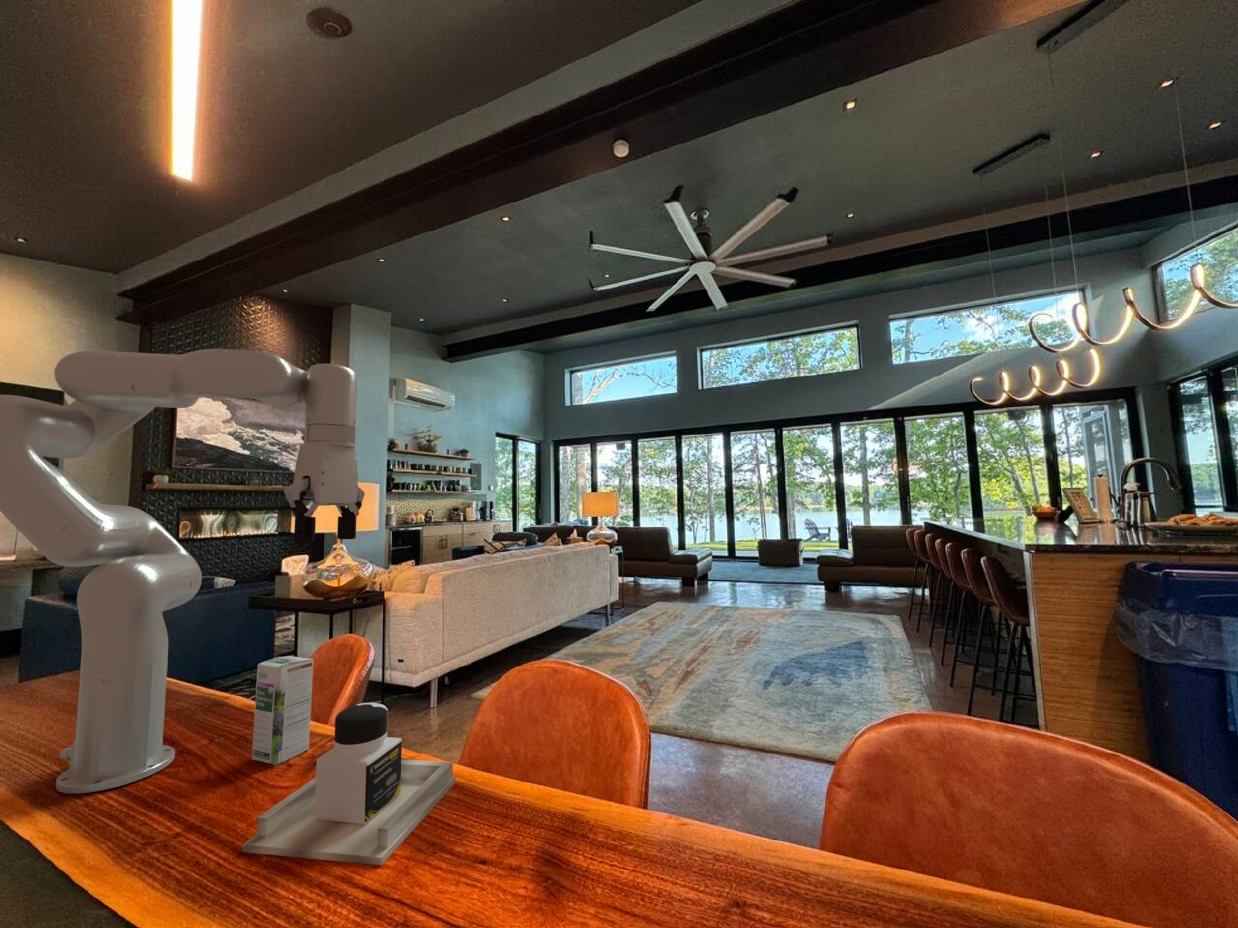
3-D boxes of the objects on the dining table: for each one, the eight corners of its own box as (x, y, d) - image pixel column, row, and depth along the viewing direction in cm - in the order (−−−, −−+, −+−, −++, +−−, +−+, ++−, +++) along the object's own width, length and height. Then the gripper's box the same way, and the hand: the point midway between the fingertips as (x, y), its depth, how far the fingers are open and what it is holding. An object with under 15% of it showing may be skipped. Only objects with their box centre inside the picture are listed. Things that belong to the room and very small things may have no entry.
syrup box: (249, 760, 79) (254, 663, 81) (287, 744, 85) (290, 653, 86) (274, 766, 77) (279, 667, 79) (311, 749, 83) (314, 656, 84)
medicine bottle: (365, 826, 61) (368, 720, 62) (312, 820, 62) (316, 717, 63) (401, 793, 68) (403, 699, 69) (353, 789, 69) (356, 696, 70)
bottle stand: (242, 851, 58) (243, 825, 58) (345, 774, 74) (345, 754, 75) (381, 865, 55) (382, 837, 55) (455, 782, 72) (455, 761, 72)
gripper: (344, 445, 96) (341, 538, 94) (268, 431, 79) (263, 544, 77) (381, 444, 95) (379, 537, 93) (312, 430, 78) (307, 544, 76)
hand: (326, 540), depth 85 cm, fingers open, 9 cm apart
